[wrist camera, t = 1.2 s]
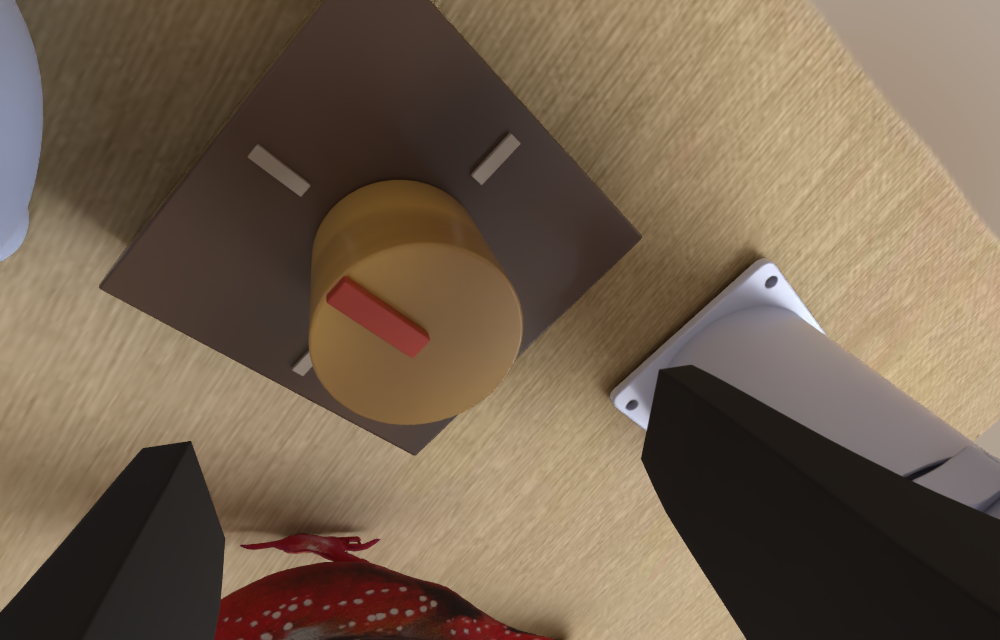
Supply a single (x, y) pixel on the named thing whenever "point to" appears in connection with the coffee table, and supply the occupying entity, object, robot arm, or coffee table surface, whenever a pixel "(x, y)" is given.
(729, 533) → the robot arm
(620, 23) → the coffee table surface
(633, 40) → the coffee table surface
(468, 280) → the lock knob
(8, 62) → the hippopotamus toy
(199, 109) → the coffee table surface
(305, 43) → the plate
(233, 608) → the decorative bird figurine
